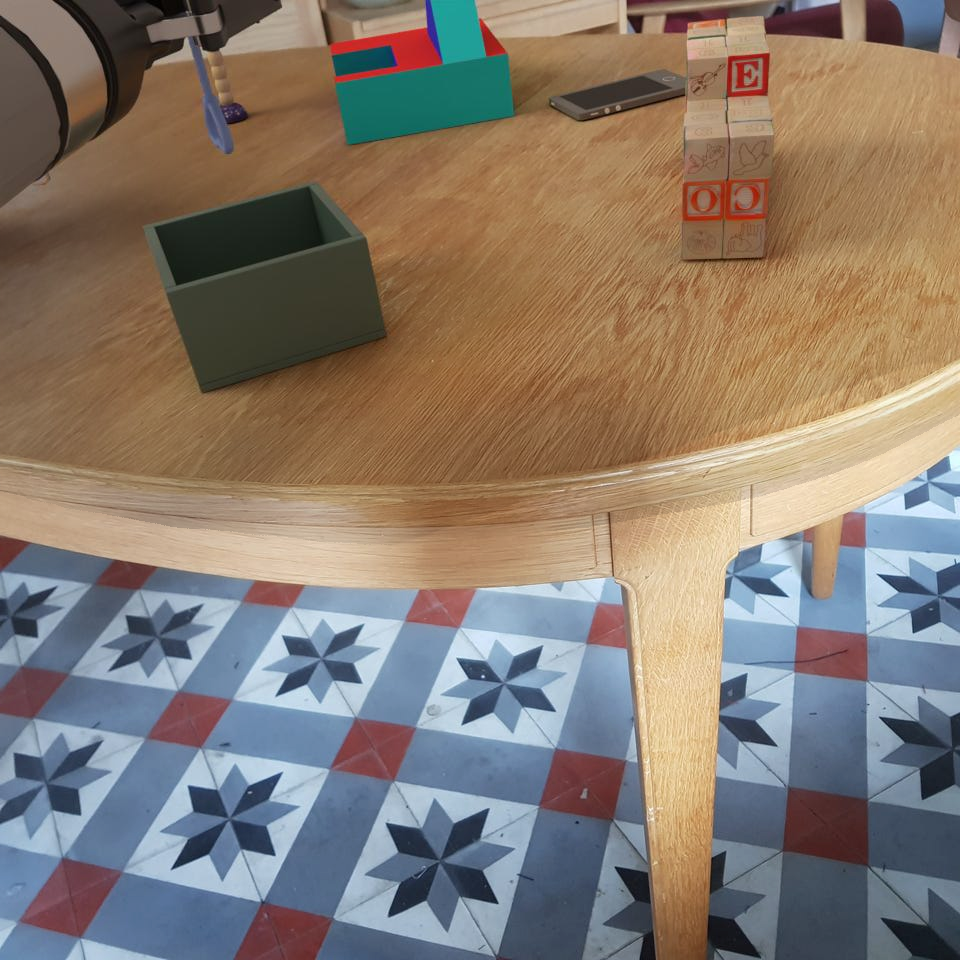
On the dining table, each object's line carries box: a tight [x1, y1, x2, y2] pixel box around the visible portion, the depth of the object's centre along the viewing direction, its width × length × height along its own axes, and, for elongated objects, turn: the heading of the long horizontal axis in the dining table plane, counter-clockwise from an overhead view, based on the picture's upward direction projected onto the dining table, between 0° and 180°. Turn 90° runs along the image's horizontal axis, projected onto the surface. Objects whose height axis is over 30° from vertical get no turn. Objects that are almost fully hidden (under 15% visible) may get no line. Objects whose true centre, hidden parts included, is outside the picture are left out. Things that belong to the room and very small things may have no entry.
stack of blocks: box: [681, 15, 775, 260], centre depth 75 cm, size 21×6×12 cm, turn 169°
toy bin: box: [142, 180, 388, 394], centre depth 70 cm, size 14×14×8 cm
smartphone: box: [548, 68, 687, 121], centre depth 105 cm, size 15×8×1 cm, turn 111°
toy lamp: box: [206, 49, 249, 125], centre depth 114 cm, size 5×5×17 cm
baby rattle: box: [187, 36, 235, 155], centre depth 58 cm, size 9×9×18 cm
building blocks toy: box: [329, 0, 515, 146], centre depth 110 cm, size 19×25×18 cm
